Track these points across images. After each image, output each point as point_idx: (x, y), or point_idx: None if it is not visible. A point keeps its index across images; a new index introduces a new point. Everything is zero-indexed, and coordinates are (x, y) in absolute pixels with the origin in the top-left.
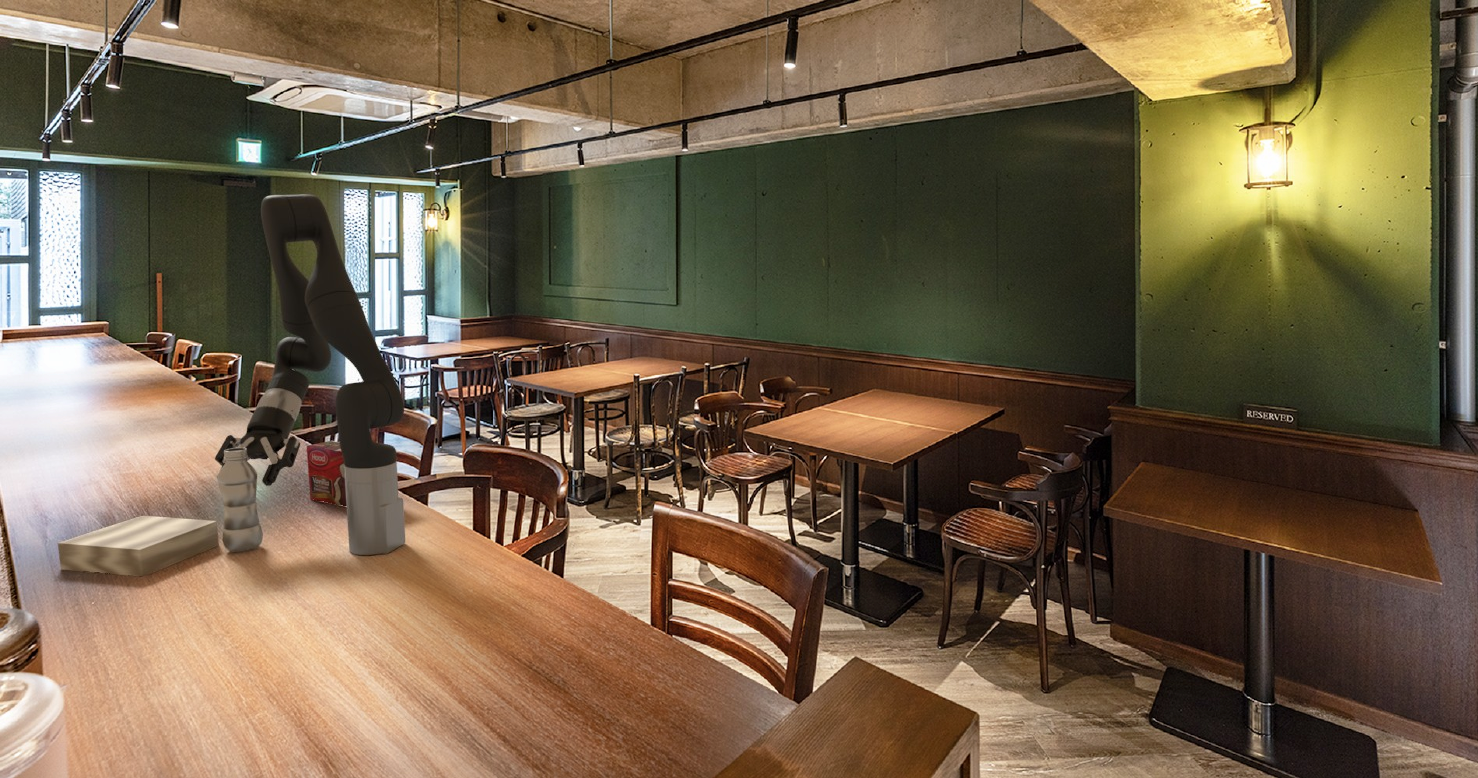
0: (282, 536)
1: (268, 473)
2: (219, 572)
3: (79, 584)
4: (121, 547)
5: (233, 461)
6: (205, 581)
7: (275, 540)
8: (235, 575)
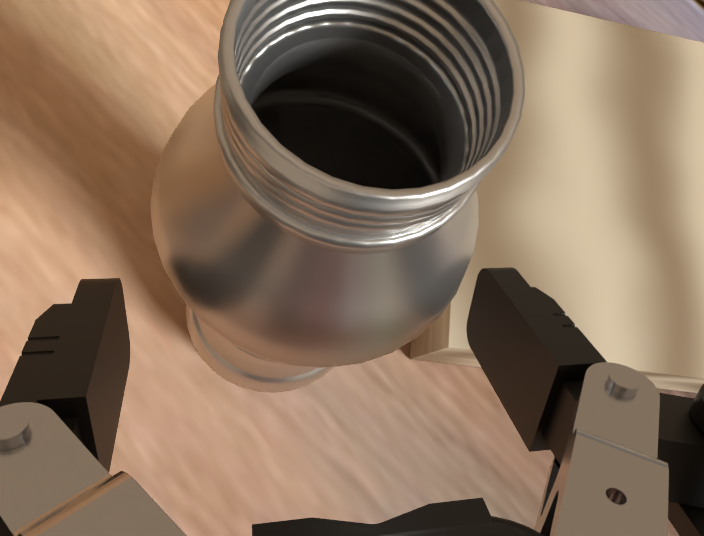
0: (203, 512)
1: (66, 320)
2: (197, 85)
3: (558, 7)
4: (550, 12)
5: (312, 42)
6: (190, 11)
7: (202, 450)
8: (115, 58)
